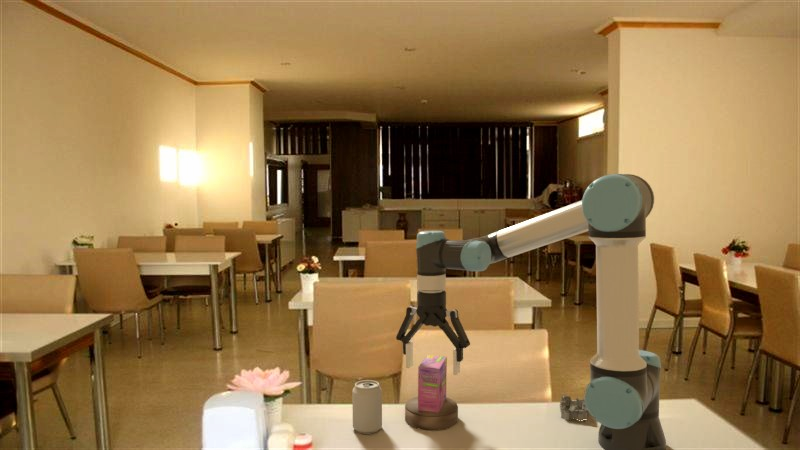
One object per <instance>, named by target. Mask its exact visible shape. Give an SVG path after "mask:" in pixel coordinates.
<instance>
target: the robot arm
mask: <svg viewBox="0 0 800 450" xmlns="http://www.w3.org/2000/svg"><path fill="white" fill-rule="evenodd" d="M654 204H655V195H654V191H653V189H652V187H651V184H650V183H648V181H646V180H645V179H643V178H642V177H640V176H639V175H635V174H629V173H612V174H605V175H602V176H600V177H598V178H596V179H595V180H594V181H592V182H591V183H590V184H589V185H588V186H587V187H586V189H585V190H584V194H583V196H582V198H581V200H579V201H575V202H573V203H570V204H568V205H566V206H562V207H560V208H557V209H554V210H552V211H548V212H546V213H543V214H541V215H537V216H535V217H533V218H530V219H527V220H525V221H522V222H519V223H517V224H514V225H511V226H509V227H506V228H503V229H500V230H497V231H494V232H492V233H490V234H486V235H484V236H480V237H475V238H470V239H469V238H468V239H447V237H446V233H445V232H444V231H442V230H423V231H420V232H418V233H417V235H416V247H415V250H416V268H417V269H416V270H417V271H416V279H417V280H416V288H417V290H418V291H417V292H416V293H417V294H416V297H417V299H416V300H417V302H416V303H417V307H415V306H414V305H409V306H408V307H406V310H405V316H404V319H403V321H402V323H401V325H400V327H399V330H398V332H397V334H396V337H395V339H396V341H400V342H401V343H402V353H403V355H405V368H406V369H409V368H412V367H413V366H414V347H413V346H414V342H413V341H411V340H412V338H413V337H414V336H415V335H416V334H417V332H418V331H419V330H420V329H421V328H422V326H423V325H424V326H427V327H429V326H431V327H435V328H436V327H438V328H439V329H441V330H442V331H443V334H444V335H445V336H446V337H447V338H448V339H449V341H450V342H451V344H452V345H453V346H454V349H452V365H453V367H452V373H453V376H457V375H458V374H459V373H461V362H462V361H464V349H466V348H468V347H469V346H471V342H470V340H469V337H468V335H467V333H466V331H465V329H464V327H463V324H462V323H461V320H460V318H459V317H460V316H459V311H458V309H456V308H455V309H452V310H448V309H447V291H446V290H445V289H446V288H447V276H446V275H447V274H446V272H447V270H456V271H457V270H459V271H469V272H471V273H473V272H483V271H486V270H487V269H488V267H489V266H490V264H493V265H494V264H495V263H499V262H501V261H503V260H506V259H508V258H512V257H515V256H518V255H520V254H524V253H526V252H529V251H533V250H535V249H538V248H541V247H544V246H547V245H550V244H554V243H556V242H559V241H562V240H565V239H568V238H571V237H574V236H578V235H581V234H583V233H586V232H588V239H590V240H591V242H593V243H594V245H595V265H596V266H595V267H596V268H595V270H596V271H595V272H596V274H595V275H596V278H595V279H596V280H595V282H596V283H595V285H596V286H595V287H596V289H595V290H596V348H597V350H596V353H595V354H594V355H593V356H592V357H591V358H590V362H589V363H590V365H589V366H590V367H589V368H590V370H589V371H590V372H589V373H590V374H589V375H590V376H589V377H590V378H589V379H590V380H589V383H588V384H587V386H586V388H585V391H584V398H583V399H585V404H586V407H587V409H588V410H587V412H588V414H590V416H592V417H593V418H594V419H595V421H597V422H598V423H599V424H600V427H599V429H598V436H597V437H598V438H597V439H598V444H599V445H600V446H601V447H602V448H603V449H605V450H667V440H666V436H665V432H664V429H663V426H662V423H661V420H660V419H661V418H660V391H661V389H660V388H661V370H662V365H661V364H662V363H661V358H660V356H659V355H658V354H656V353H655V352H651V351H648V350H643V349H640V331H639V330H640V323H639V322H640V319H639V318H640V317H639V315H640V311H639V309H640V308H639V305H640V304H639V296H640V295H639V245H640V243H642V242H643V241H644V240H645V239H646V235H647V233H646V231H647V230H646V229H647V227H646V225H647V221H646V220H647V217H648V216H650V214H651V212H652V210H653V209H654ZM415 315H417V317H418V319H417V321H416V322H415V324H414V325H413V326H412V327H411V328H410V330H409V331H408V329H409V326H410V325H411V323H412V320H413V318H414V316H415ZM447 316H448V319H449V320H450V321H451V324H452V327H451V326H450V323H449V322H448V320H447V319H446V318H447ZM453 329H454V330H453ZM407 331H408V332H407Z"/></svg>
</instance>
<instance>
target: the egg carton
mask: <svg viewBox="0 0 800 450" xmlns="http://www.w3.org/2000/svg"><path fill="white" fill-rule="evenodd" d="M560 397H561V398H560V402H559V412H560V418H561V419H564V420H565V421H571V420H576V419H578V420H580V421H579V422H581V420H583V419H587V420H588V409H587V407H586V404H585V398H581V399H579V398H578V397H576V398H575V400H574V399H572V398H571V396H570V395H566V394H565V393H564V392H563V393H561V396H560ZM566 407H569V409H567V411H566ZM581 407H582V408H581ZM579 408H581V409H579ZM573 418H574V419H573ZM578 420H577V421H578Z"/></svg>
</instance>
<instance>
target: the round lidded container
mask: <svg viewBox="0 0 800 450" xmlns="http://www.w3.org/2000/svg"><path fill="white" fill-rule="evenodd" d="M404 421H405V423H406V424H407V425H408V426H410V427H411V428H414V429H418V430H422V431H423V430H424V431H432V432H433V431H443V430H448V429H450V428H452V427H455V426H456V425H457V424H458V422H459V406H458V404H457V402H456V400H454V399H451V398H449V397H446V400H445V402H444V404H443V405H442V407H441V409H440V411H439V413H433V412H424V411H418V396H415V397H413V398H410V399H409V400H407V401H406V403H405V405H404Z"/></svg>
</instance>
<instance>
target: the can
mask: <svg viewBox="0 0 800 450" xmlns="http://www.w3.org/2000/svg"><path fill="white" fill-rule="evenodd" d="M351 392H352V394H351V395H352V396H351V397H352V399H351V400H352V402H351V403H352V404H351V405H352V428H353V429H354V430H355V431H356V432H357V433H358V434H363V435H370V434H375V433H377V432H378V431H379V430H380V429H381V428H382V427H383V390H382V387H381V386H380V383H379V382H378V381H376V380H374V379H373V380H371V379H364V380H359V381H356V382H355V383H354V387H353V388H352V391H351Z"/></svg>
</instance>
